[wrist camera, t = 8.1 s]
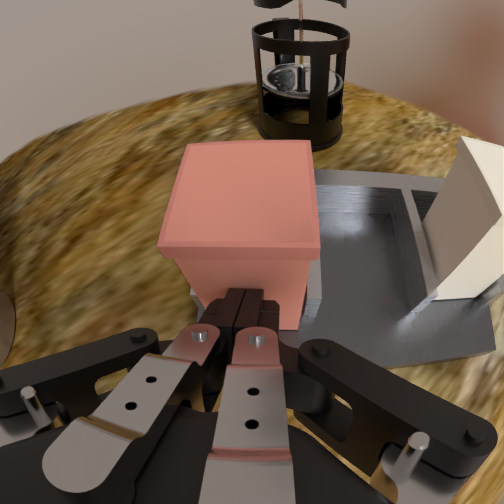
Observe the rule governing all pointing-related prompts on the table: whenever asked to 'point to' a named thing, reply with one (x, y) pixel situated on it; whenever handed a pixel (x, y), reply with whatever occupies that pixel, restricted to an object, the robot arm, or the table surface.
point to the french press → (300, 78)
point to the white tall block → (468, 222)
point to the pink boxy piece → (245, 221)
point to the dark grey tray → (384, 277)
